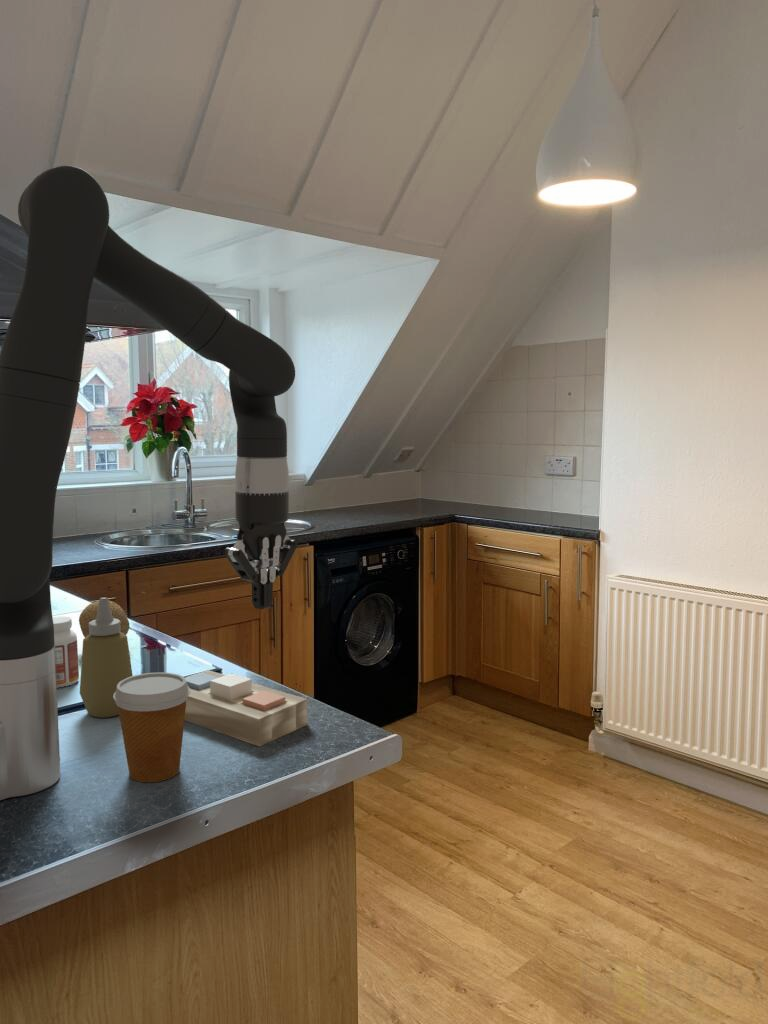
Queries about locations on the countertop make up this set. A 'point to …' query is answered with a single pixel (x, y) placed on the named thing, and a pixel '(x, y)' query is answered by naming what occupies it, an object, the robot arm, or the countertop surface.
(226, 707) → the key box
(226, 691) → the white key
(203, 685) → the slate key
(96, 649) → the squeeze bottle
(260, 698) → the terracotta key
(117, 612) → the natural sponge
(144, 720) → the disposable coffee cup
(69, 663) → the pill bottle
